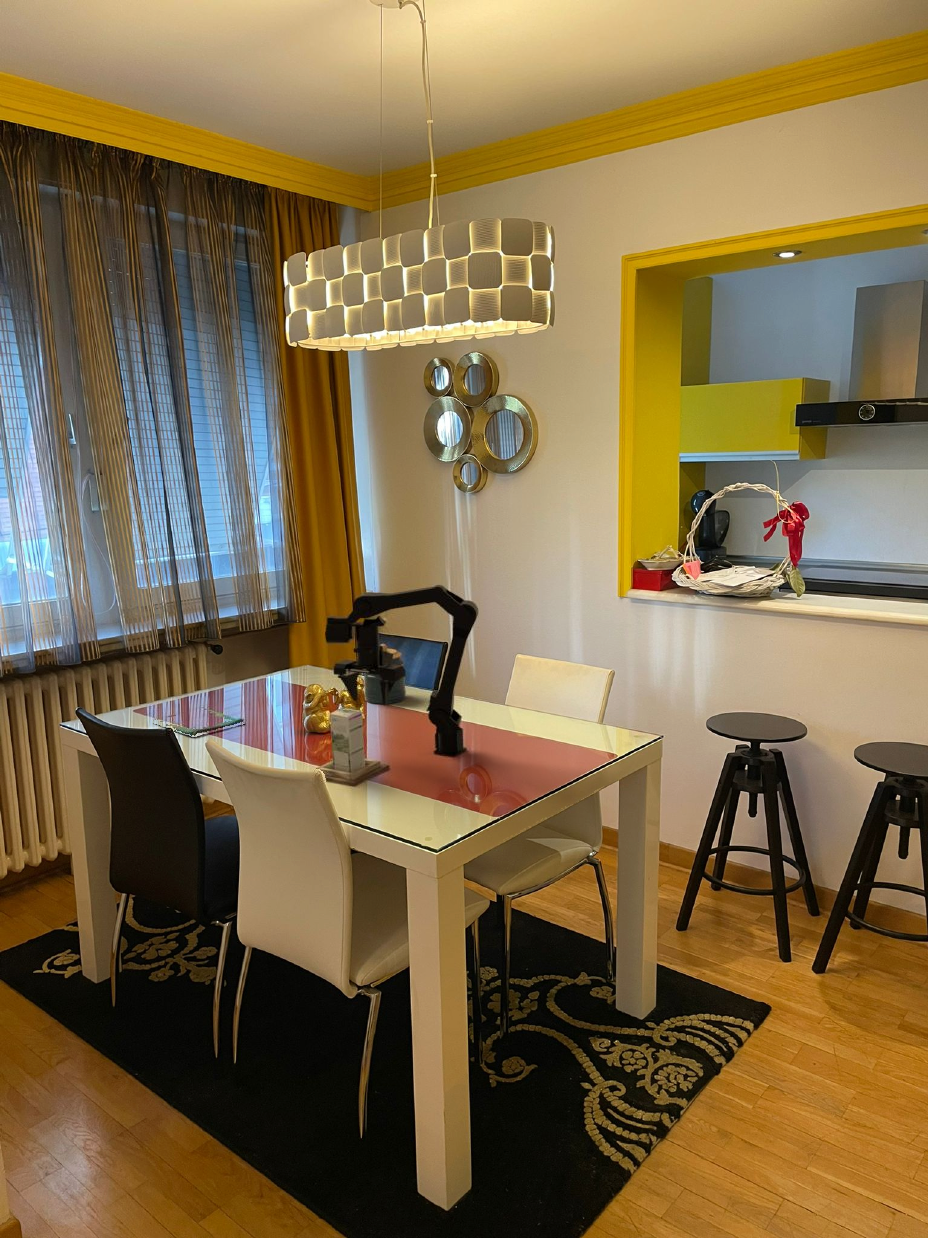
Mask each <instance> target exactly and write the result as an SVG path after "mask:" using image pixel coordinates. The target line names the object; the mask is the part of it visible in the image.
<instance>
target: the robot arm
mask: <svg viewBox="0 0 928 1238" xmlns="http://www.w3.org/2000/svg"><path fill="white" fill-rule="evenodd" d="M352 603H353V604H352V611H351V612H350V613H349V614H348V615H347V616H338V617H337V616H330V615H329V616H328V617H327V618H326V625H325V632H324V636H325V642H326V644H351V641H352V640H355V641H356V643H355V644H356V647H355V648H353V653H356V660H351V659H344V660H341V661H339V662H335V664H334V666H332V670H333V671H332V672H333V675H336V676H337V678H338V679H340V680H341V682H342V683H343V685H344V686H345V688H346V689H347V691H348V693H349V695H350V696H351V699H352V700H353V701H354V702H357V701H358V695H359V694H358V693H359V691H358V678H359V675H360V673H361V674H364V673H367V674H377V675H380V677H381V678H382V679H383V680H381V681H380V687H381V694H382V700H383V704H382V705H383V706H387V705H388V704H389V703H388V700H389V697H390V694H391V691H392V688H393V686H394V684H395V682H396V681H398V680H400V679H401V678H402V677H406V674H407V673H406V668H405V667H404V665H403V666H401V665H392V660H393V654H392V653H388V652H384V651H383V647H382V646H381V644H380V633H379V632H380V630H379V629H380V628H379V627H384V626H385V625H386V624H387V621H386V620H385V619H384V618H382V616H381V615H380V614H383V613H385V612H387V611H390V610H391V611H392V610H395V609H400V608H401V609H402V608H408V607H413V606H414V607H415V606H420V605H427V604H432V603H433V604H437V605H438V606H439V607H441V608H442V609H443V610H444V611H445V612H446V613H447V614H449V615H450V616H451V617H452V618H453V619H452V639H451V642H450V646H449V649H448V653H447V658H446V662H445V666H444V670H443V673H442V678H441V682H440V685H439V688H438V690H434V689H432V692H431V693H430V697H429V704H428V707H427V708H426V712H428V713H427V714H428V715H427V717H428V719H429V721H430V723H432V725H434V726H435V733H434V746H435V747H434V748H435V750H433V754H436V755H442V756H447V757H457V756H458V755H460V754H462V753H464V752H465V751H467V750H468V748H467V747H465V746H464V728H462V727H460V724H461V721H462V719H463V716H462V715H461V714H460V713H459V712H458V711H457V710H456V709H455V707H454V706H455V687H456V683H457V681H458V680H457V679H458V676H459V672H460V668H461V665H462V660H463V656H464V652H465V648H466V645H467V641H468V638H469V636H470V634H471V632H472V629H473V627H474V626H475V625H474V624H475V622H476V621H477V618H478V616H479V608H478V606H477V604H476V603H475V602H474V601H472V600H469V599H468V600H466V599H463V598H462V597H461V596H459V595H458V594H456V593H454V592H452V591H450V590H449V589H447V588H446V586H444V585H442V584H436V585H434V586H429V587H422V588H421V587H420V588H417V589H410V590H403V591H398V592H392V593H391V592H390V593H388V592H387V593H386V592H370V591H369V592H364V593H363V592H362V594H360V595H359V596H358V597H356V598H355V599H354V600H353V602H352ZM374 616H377V617H376V618H372V617H374ZM360 619H363V621H362V622H361V621H359V620H360ZM358 621H359V622H358ZM385 664H386V665H388V666H386V667H384V668H382V667H380V666H384V665H385ZM365 669H367V670H365ZM372 670H375V671H372Z"/></svg>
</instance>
